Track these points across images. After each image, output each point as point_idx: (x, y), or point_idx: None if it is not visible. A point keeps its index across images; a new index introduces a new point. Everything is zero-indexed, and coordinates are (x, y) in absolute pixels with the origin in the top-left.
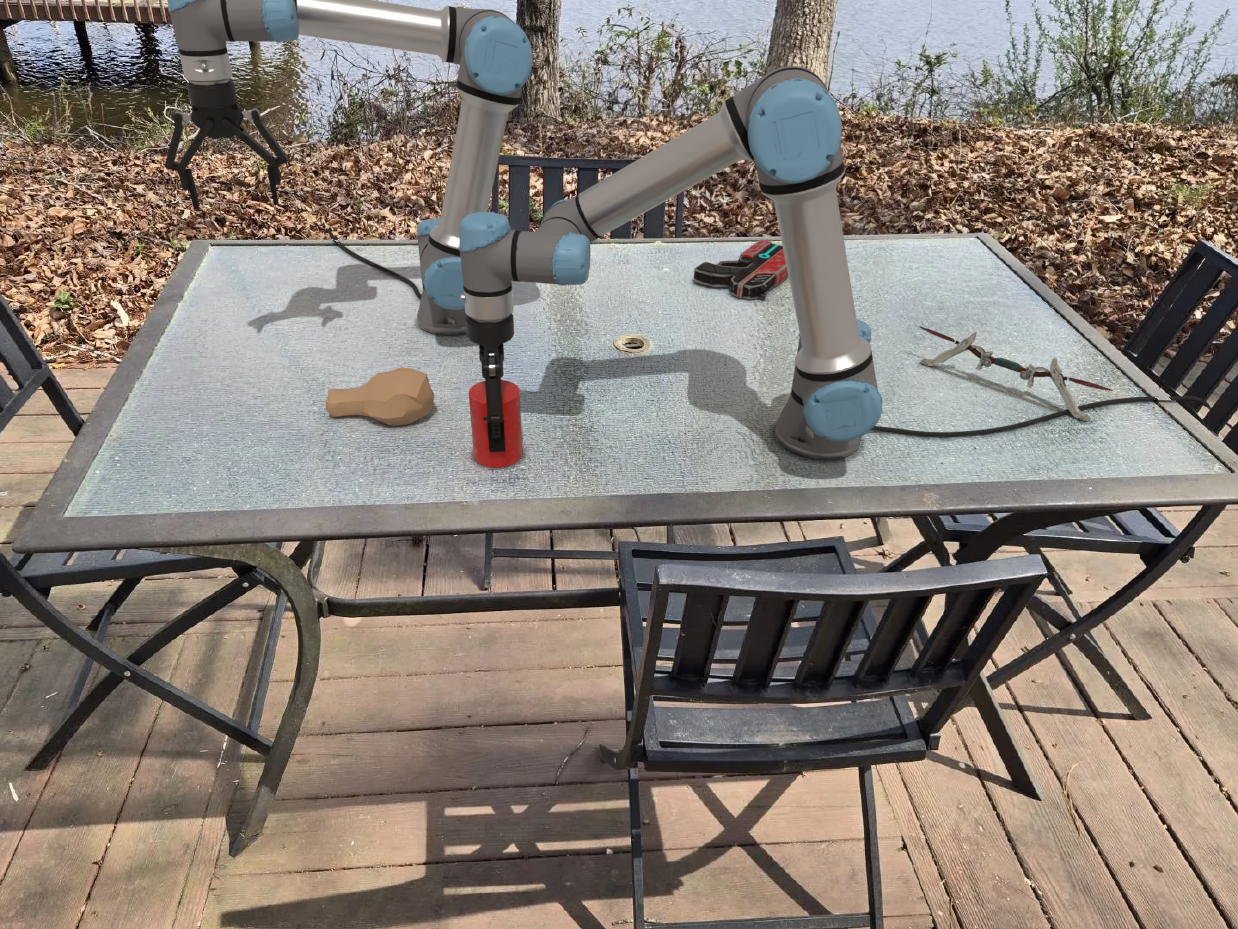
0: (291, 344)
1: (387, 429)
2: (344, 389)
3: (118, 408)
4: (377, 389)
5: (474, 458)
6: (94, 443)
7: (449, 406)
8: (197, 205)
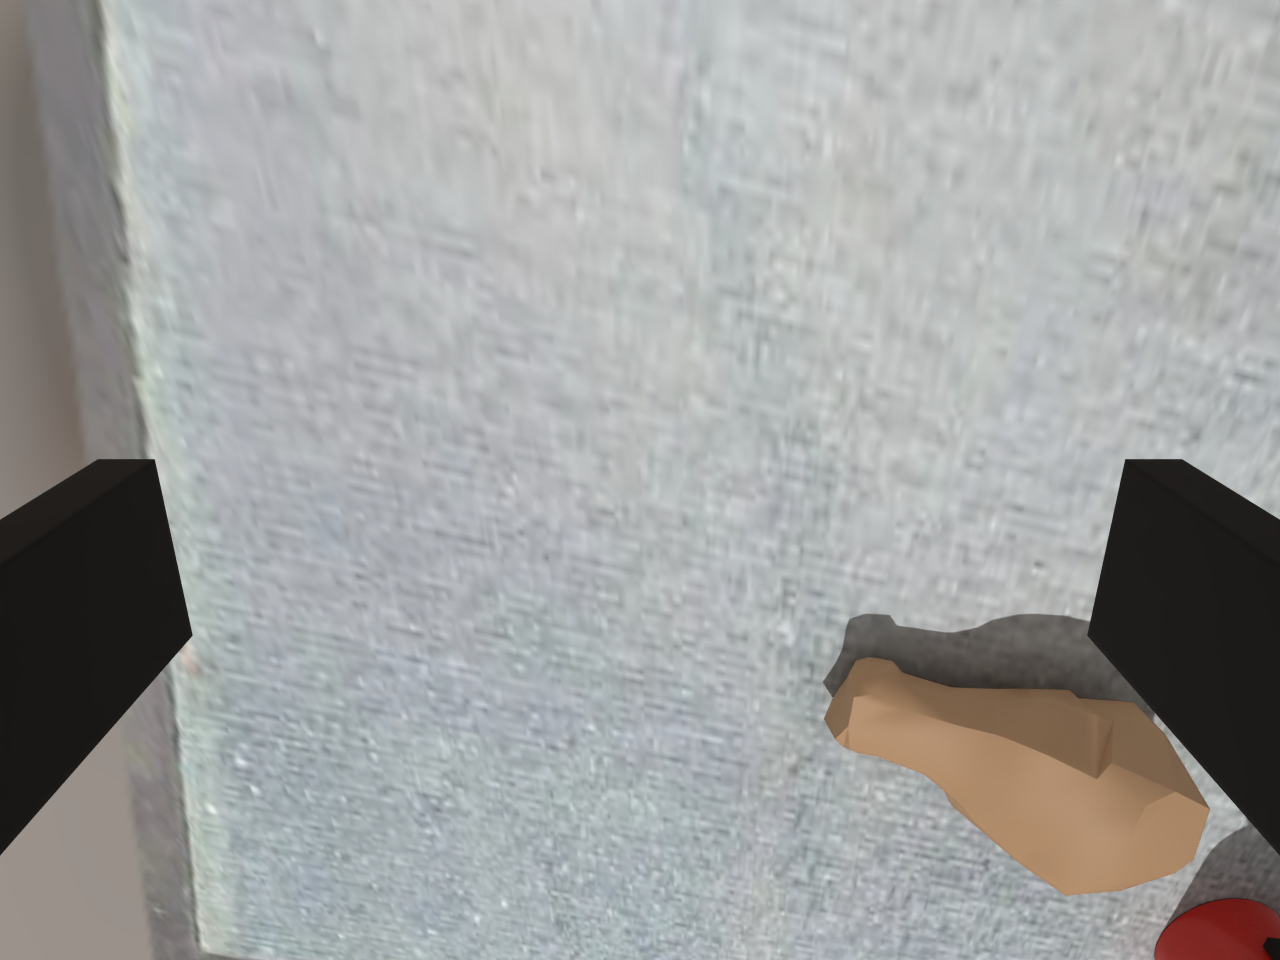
0: (725, 62)
1: None
2: (907, 714)
3: None
4: (1018, 828)
5: (1155, 952)
6: None
7: None
8: (166, 656)
